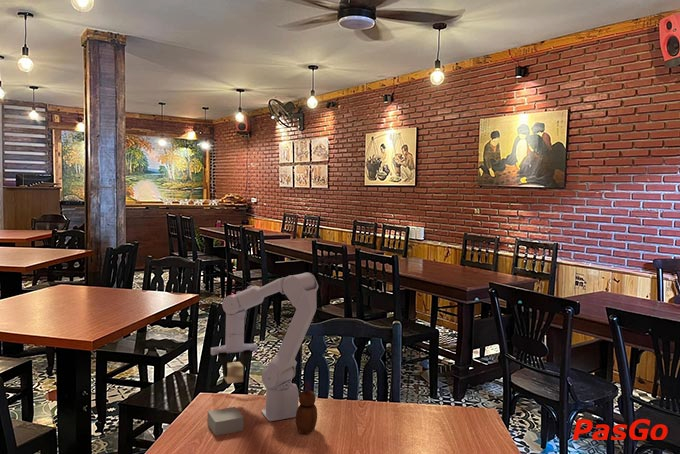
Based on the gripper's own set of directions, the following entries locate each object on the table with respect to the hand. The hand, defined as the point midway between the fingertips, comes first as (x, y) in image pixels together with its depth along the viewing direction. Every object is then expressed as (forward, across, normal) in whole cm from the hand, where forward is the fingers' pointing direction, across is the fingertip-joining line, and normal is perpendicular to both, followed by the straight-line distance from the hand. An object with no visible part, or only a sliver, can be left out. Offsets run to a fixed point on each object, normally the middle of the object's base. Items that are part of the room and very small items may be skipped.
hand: (233, 374), depth 162 cm
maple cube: (+2, 0, 0) cm, 2 cm away
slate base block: (+9, +6, +16) cm, 20 cm away
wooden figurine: (+9, -14, +27) cm, 32 cm away
